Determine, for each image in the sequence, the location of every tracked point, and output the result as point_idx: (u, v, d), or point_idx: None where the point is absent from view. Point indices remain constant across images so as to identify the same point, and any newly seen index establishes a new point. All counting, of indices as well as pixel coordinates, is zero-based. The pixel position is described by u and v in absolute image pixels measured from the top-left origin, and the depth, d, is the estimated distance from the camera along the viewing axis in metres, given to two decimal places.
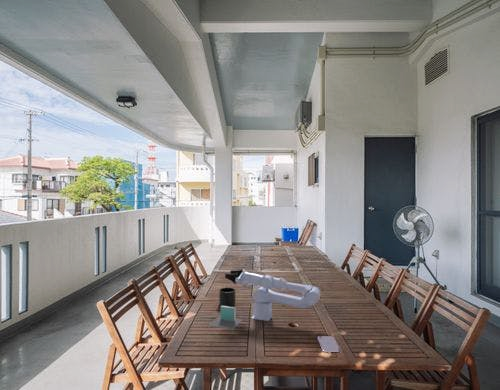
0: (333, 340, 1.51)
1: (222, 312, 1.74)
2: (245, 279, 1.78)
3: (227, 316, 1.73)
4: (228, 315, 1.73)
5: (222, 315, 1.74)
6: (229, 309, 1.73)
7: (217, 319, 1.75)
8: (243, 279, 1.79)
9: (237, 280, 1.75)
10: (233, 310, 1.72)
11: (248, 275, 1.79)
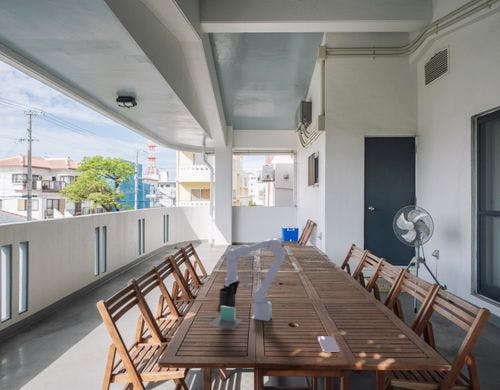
0: (333, 340, 1.51)
1: (222, 312, 1.74)
2: (230, 276, 1.79)
3: (227, 316, 1.73)
4: (228, 315, 1.73)
5: (222, 315, 1.74)
6: (229, 309, 1.73)
7: (217, 319, 1.75)
8: (230, 278, 1.79)
9: (226, 284, 1.75)
10: (233, 310, 1.72)
11: (227, 273, 1.81)
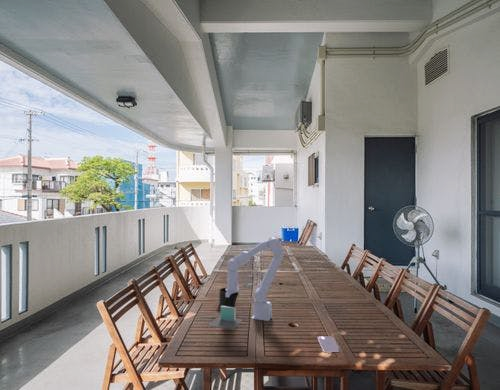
0: (333, 340, 1.51)
1: (222, 312, 1.74)
2: (230, 287, 1.76)
3: (227, 316, 1.73)
4: (228, 315, 1.73)
5: (222, 315, 1.74)
6: (229, 309, 1.73)
7: (217, 319, 1.75)
8: (231, 289, 1.76)
9: (227, 294, 1.72)
10: (233, 310, 1.72)
11: (227, 283, 1.78)
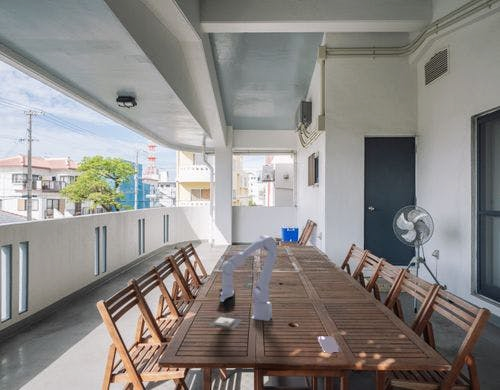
0: (333, 340, 1.51)
1: None
2: (225, 290, 1.70)
3: None
4: None
5: None
6: None
7: (217, 319, 1.75)
8: (226, 293, 1.70)
9: (221, 299, 1.66)
10: None
11: (222, 287, 1.71)
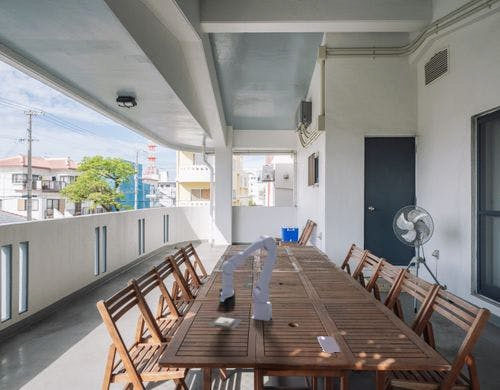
0: (333, 340, 1.51)
1: None
2: (225, 290, 1.70)
3: None
4: None
5: None
6: None
7: (217, 319, 1.75)
8: (226, 293, 1.70)
9: (221, 299, 1.66)
10: None
11: (222, 287, 1.71)
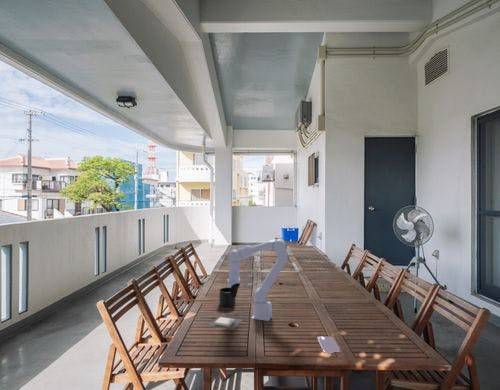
0: (333, 340, 1.51)
1: None
2: (232, 277, 1.77)
3: None
4: None
5: None
6: None
7: (217, 319, 1.75)
8: (232, 279, 1.77)
9: (229, 285, 1.73)
10: None
11: (229, 274, 1.79)
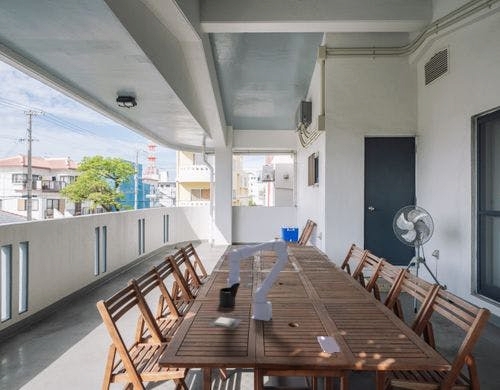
0: (333, 340, 1.51)
1: None
2: (232, 277, 1.78)
3: None
4: None
5: None
6: None
7: (217, 319, 1.75)
8: (232, 279, 1.78)
9: (228, 285, 1.74)
10: None
11: (229, 274, 1.79)
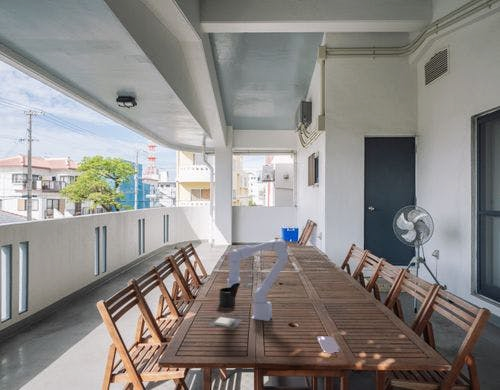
0: (333, 340, 1.51)
1: None
2: (232, 277, 1.78)
3: None
4: None
5: None
6: None
7: (217, 319, 1.75)
8: (232, 279, 1.78)
9: (228, 285, 1.74)
10: None
11: (229, 274, 1.79)
